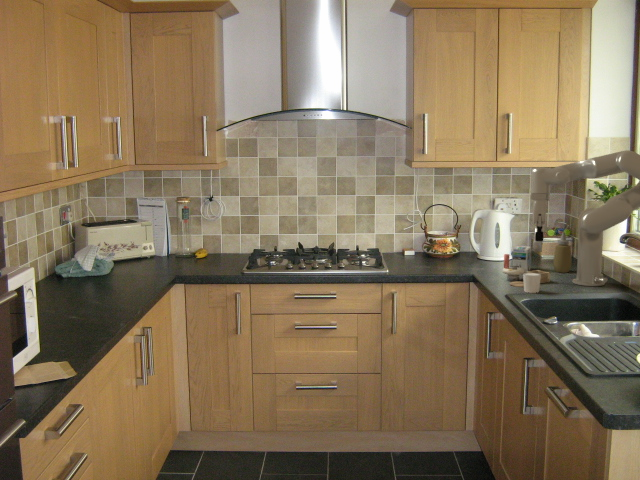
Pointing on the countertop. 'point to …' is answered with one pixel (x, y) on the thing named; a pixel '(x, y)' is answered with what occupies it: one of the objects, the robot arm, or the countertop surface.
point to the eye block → (542, 275)
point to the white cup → (531, 282)
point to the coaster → (517, 284)
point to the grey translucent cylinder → (537, 242)
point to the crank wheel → (511, 267)
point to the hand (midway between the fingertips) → (539, 239)
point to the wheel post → (513, 277)
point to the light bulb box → (522, 257)
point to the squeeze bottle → (562, 255)
